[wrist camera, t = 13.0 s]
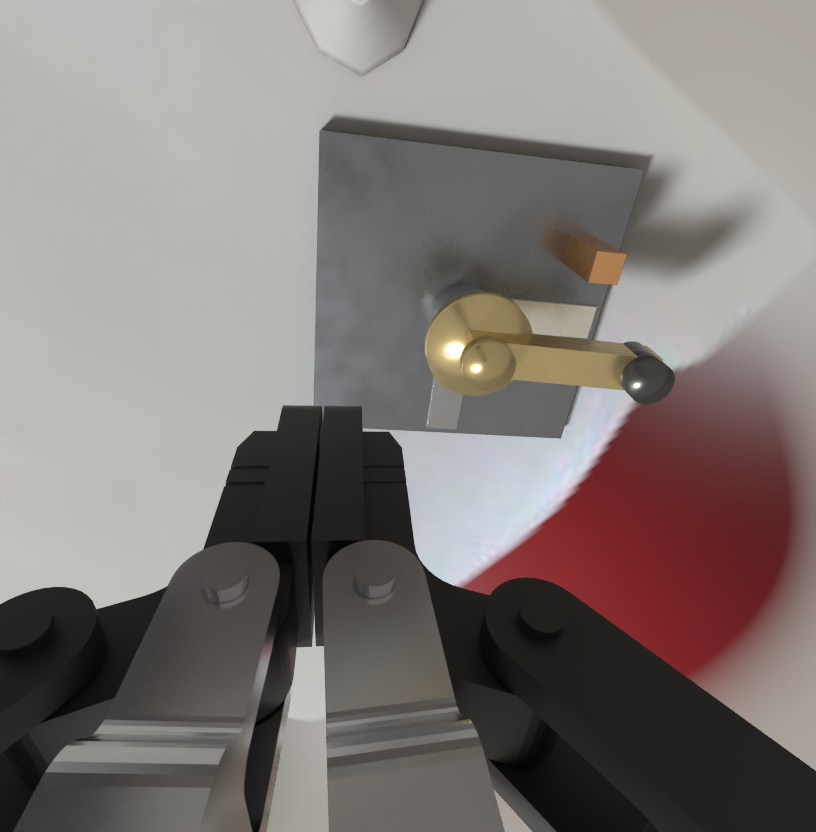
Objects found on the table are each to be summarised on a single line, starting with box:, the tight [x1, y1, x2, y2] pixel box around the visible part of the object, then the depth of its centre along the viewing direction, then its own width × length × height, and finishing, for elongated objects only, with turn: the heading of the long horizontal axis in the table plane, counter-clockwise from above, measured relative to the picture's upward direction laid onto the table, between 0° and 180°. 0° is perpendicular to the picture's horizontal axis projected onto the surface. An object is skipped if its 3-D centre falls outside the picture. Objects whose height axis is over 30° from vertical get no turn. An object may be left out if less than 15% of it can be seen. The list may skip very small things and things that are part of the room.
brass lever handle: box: [425, 291, 675, 404], centre depth 33 cm, size 15×7×4 cm, turn 82°
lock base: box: [314, 130, 644, 438], centre depth 37 cm, size 22×22×7 cm
